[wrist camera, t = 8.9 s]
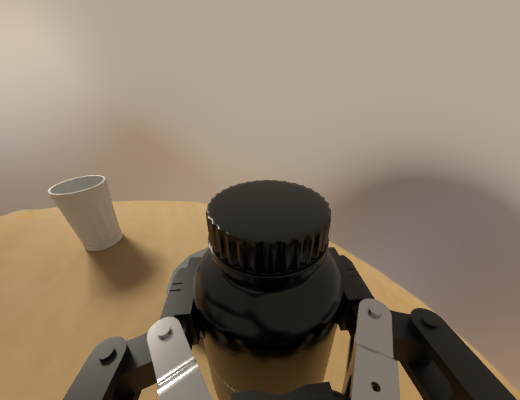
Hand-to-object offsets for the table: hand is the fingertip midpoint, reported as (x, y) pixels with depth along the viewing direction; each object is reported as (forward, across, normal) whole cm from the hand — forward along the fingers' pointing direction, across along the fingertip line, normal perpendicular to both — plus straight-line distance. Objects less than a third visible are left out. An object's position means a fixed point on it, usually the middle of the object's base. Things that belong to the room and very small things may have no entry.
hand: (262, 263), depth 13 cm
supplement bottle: (-2, 0, +7) cm, 7 cm away
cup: (+27, +29, +17) cm, 43 cm away
